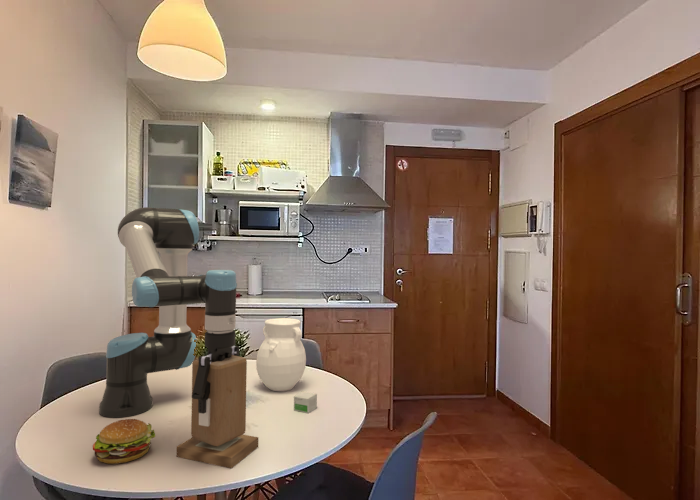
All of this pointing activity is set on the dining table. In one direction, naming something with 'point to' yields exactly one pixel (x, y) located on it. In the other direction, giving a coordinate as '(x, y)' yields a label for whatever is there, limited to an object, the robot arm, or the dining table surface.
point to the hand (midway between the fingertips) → (218, 416)
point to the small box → (305, 402)
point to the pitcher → (281, 354)
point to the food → (123, 441)
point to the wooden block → (222, 401)
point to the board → (218, 451)
